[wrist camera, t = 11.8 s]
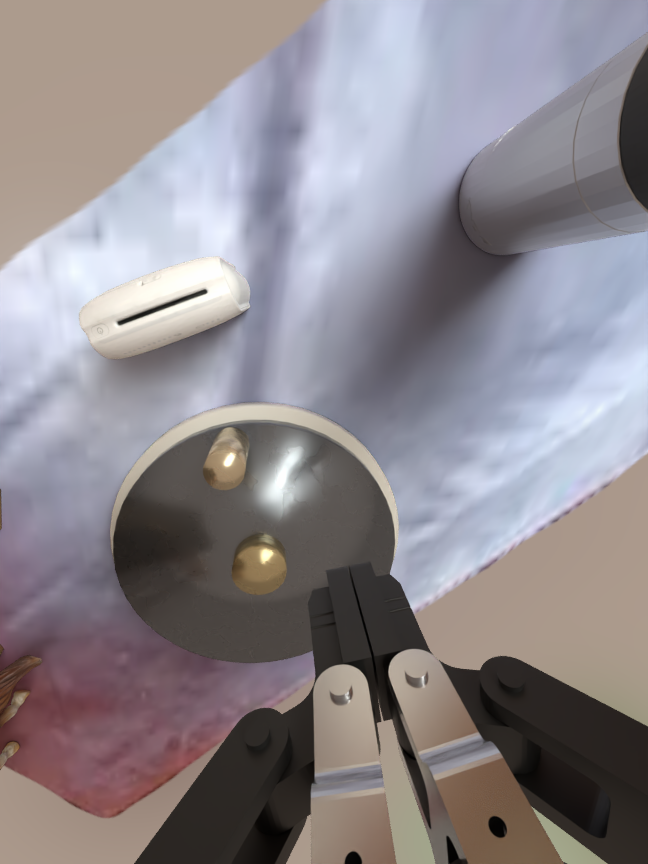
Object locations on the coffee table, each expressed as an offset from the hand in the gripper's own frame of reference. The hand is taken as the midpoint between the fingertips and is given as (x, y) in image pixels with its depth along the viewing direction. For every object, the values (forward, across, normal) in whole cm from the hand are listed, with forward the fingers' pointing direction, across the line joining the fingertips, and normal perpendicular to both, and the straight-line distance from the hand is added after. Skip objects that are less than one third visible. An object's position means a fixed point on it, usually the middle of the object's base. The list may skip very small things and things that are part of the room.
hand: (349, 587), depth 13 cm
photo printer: (+27, +8, -10) cm, 30 cm away
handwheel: (+25, +7, +14) cm, 29 cm away
